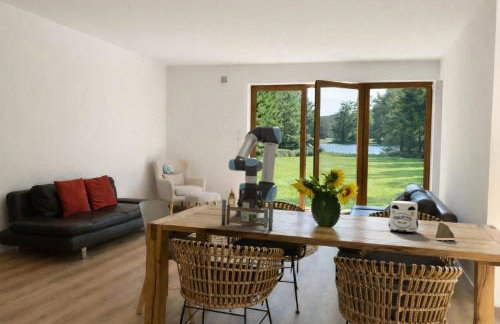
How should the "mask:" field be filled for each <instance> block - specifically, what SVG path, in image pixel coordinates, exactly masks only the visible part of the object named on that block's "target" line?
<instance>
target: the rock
mask: <svg viewBox="0 0 500 324" xmlns="http://www.w3.org/2000/svg"><path fill="white" fill-rule="evenodd" d="M436 229H437V230H436V234H435V238H455V236H454V235H455V234H454V233H453V232H452V231H451V228H450V227H449V226H448V225H447V224H445V223H444V222H439V223H438V226H437V228H436Z"/></svg>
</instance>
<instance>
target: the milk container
mask: <svg viewBox="0 0 500 324" xmlns="http://www.w3.org/2000/svg"><path fill="white" fill-rule="evenodd" d="M418 208H419V207H418V203H417V202H414V201H409V200H408V201H407V200H406V201H405V200H392V201H391V203H390V213H389V215H390V216H389V219H388V222H387V223H388V228H389V229H390V231H393V232H396V231H398V232H397V233H401V232H413V233H416V232H417V231H418V230H419V221H418Z"/></svg>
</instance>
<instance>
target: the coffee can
mask: <svg viewBox="0 0 500 324" xmlns="http://www.w3.org/2000/svg"><path fill="white" fill-rule="evenodd" d="M242 201H243V203H242V208H253V209H257V208H258V206H257V202H258V201H259V200H257V201H255V200H254V199H246V200H243V199H242ZM259 202H260V201H259ZM241 221H248V222H258V223H259V218H258V219H257V213H256V212H244V211H242V217H241Z"/></svg>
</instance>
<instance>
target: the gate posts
mask: <svg viewBox="0 0 500 324" xmlns="http://www.w3.org/2000/svg"><path fill="white" fill-rule="evenodd" d="M268 204H269V205H268V228H267V230H268V231H273V225H274V224H273V221H274V203H272V202H270V203H268ZM226 218H227V200H226V199H221V226H222V227H226Z"/></svg>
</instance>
